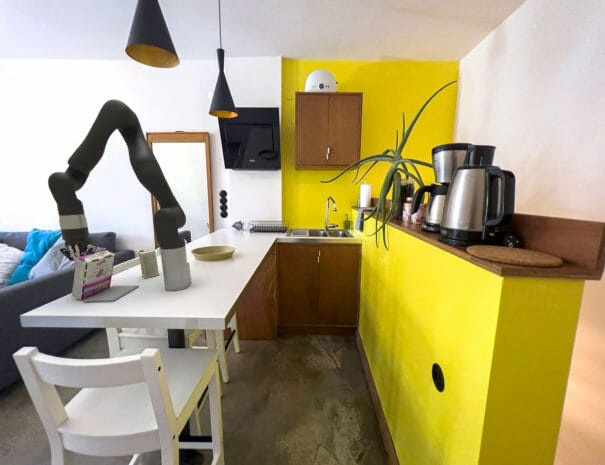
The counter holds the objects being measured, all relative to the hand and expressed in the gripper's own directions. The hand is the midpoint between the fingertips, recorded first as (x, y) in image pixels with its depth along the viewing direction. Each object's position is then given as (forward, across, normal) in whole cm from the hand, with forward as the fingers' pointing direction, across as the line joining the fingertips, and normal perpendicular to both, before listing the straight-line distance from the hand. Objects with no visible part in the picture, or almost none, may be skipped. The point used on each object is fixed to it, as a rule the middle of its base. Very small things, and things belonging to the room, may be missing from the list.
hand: (82, 270), depth 93 cm
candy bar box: (+9, -2, 0) cm, 9 cm away
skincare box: (+10, -13, -20) cm, 26 cm away
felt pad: (+10, -11, 0) cm, 15 cm away
